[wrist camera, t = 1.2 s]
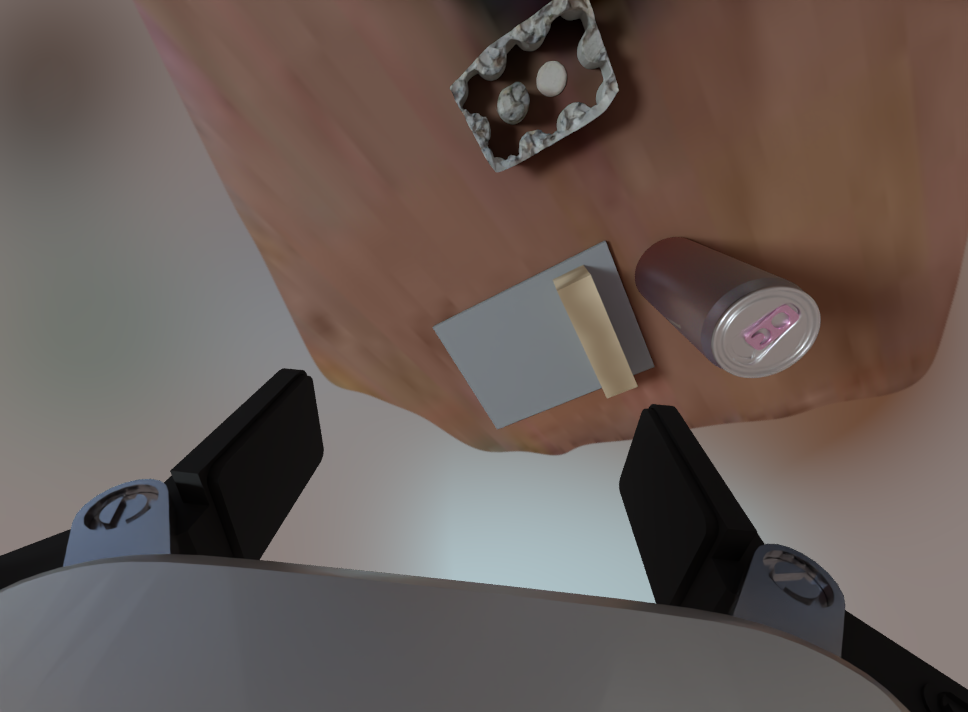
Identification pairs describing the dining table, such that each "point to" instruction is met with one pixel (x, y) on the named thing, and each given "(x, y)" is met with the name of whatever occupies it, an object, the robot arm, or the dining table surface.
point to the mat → (538, 341)
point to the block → (595, 330)
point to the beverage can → (728, 307)
